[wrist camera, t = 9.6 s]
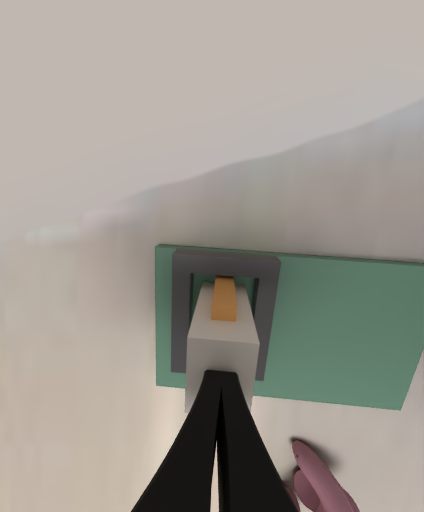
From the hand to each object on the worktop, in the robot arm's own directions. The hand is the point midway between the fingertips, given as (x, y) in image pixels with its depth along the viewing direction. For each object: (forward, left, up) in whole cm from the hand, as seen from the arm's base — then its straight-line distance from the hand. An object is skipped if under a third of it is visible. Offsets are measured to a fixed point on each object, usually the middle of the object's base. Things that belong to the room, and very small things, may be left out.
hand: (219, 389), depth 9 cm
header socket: (0, 0, -8) cm, 8 cm away
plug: (0, 0, -7) cm, 7 cm away
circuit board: (-5, +2, -8) cm, 9 cm away
